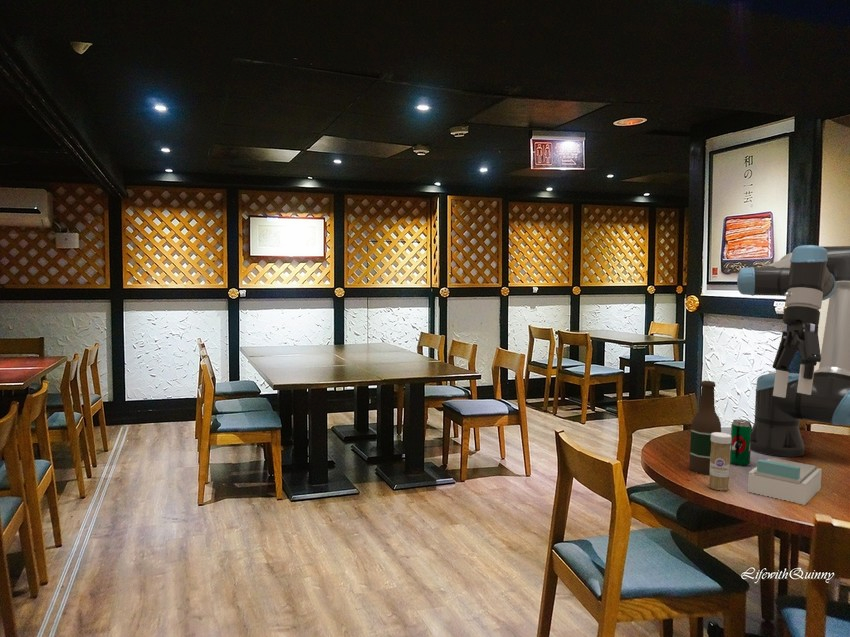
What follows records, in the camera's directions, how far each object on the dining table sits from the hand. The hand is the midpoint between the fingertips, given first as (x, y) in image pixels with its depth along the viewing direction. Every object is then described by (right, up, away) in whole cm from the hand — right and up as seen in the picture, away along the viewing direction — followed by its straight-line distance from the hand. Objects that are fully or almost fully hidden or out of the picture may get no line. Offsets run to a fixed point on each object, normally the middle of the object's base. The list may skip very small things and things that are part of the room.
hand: (790, 395), depth 150 cm
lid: (+1, -19, +3) cm, 19 cm away
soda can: (+1, -22, +26) cm, 34 cm away
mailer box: (+1, -24, +4) cm, 24 cm away
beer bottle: (-12, -23, +19) cm, 32 cm away
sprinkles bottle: (-15, -23, +5) cm, 28 cm away
